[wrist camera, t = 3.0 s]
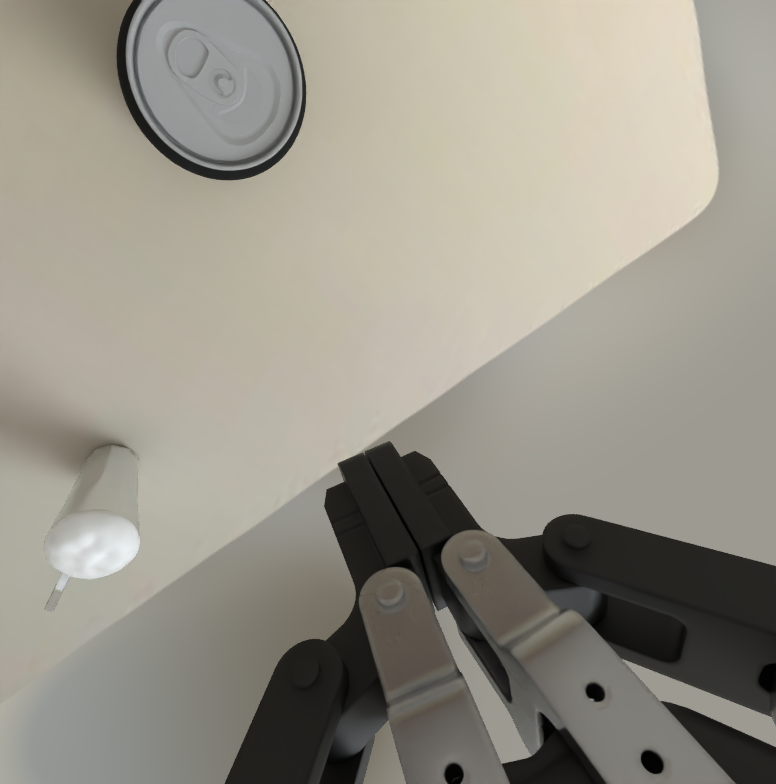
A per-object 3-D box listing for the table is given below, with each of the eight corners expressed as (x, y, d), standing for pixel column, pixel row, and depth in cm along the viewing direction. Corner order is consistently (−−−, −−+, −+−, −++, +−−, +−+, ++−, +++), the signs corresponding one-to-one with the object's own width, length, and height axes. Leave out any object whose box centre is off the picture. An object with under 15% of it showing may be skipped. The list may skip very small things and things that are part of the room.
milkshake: (51, 479, 33) (2, 595, 25) (104, 423, 33) (73, 522, 24) (113, 509, 36) (89, 624, 27) (164, 458, 35) (154, 558, 27)
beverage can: (232, 192, 29) (252, 219, 19) (118, 111, 26) (71, 94, 16) (293, 91, 28) (349, 65, 18) (182, -6, 25) (175, -105, 15)
